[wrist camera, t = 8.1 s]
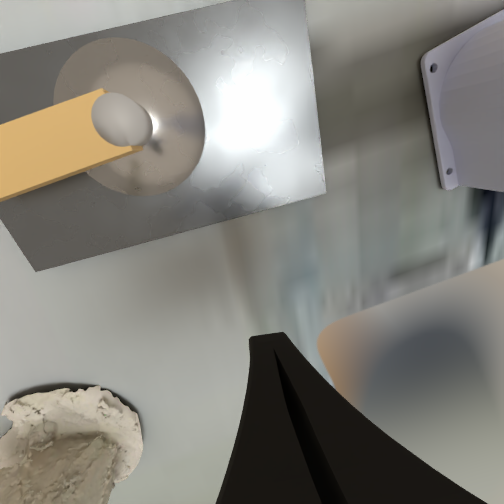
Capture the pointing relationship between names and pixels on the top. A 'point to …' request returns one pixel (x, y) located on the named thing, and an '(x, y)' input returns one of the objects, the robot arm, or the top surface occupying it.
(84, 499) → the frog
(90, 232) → the silver metal slab
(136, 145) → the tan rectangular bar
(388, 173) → the top surface
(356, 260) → the top surface
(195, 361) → the top surface
